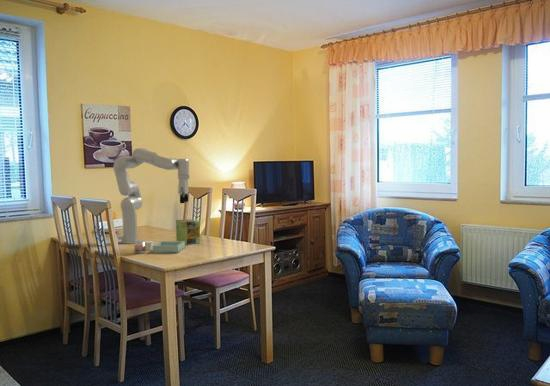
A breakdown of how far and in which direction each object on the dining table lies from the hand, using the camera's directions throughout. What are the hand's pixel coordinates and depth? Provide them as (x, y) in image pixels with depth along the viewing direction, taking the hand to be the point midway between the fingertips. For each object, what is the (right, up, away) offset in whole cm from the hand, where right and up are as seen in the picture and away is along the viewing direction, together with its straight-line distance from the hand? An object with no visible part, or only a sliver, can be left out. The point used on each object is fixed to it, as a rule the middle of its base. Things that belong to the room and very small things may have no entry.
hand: (184, 202), depth 316 cm
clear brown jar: (-22, -31, -26) cm, 46 cm away
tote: (-6, -30, -19) cm, 36 cm away
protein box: (+1, -28, +9) cm, 30 cm away
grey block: (-21, -30, -14) cm, 39 cm away
